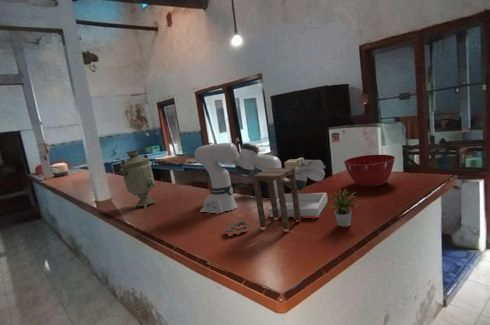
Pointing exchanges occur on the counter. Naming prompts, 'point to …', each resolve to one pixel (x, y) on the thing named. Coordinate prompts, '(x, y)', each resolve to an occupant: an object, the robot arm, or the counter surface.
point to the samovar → (138, 177)
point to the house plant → (343, 208)
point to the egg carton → (237, 225)
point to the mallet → (293, 163)
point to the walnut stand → (278, 175)
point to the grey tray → (304, 204)
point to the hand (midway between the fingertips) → (297, 160)
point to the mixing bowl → (370, 169)
